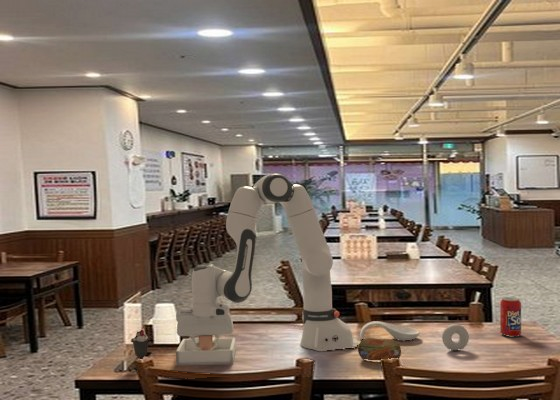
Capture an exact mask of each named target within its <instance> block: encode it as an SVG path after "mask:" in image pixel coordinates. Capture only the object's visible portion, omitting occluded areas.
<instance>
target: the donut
mask: <svg viewBox="0 0 560 400" xmlns="http://www.w3.org/2000/svg"><path fill="white" fill-rule="evenodd" d="M454 334H457V335H459V337H458V340H456V341H453V340H452V336H453V335H454ZM441 335H442V336H441V340H442V343H443V345H444V347H446V348H447V349H448V350H450V349H451V350H450V351H452V350H458V349H462V350H463V349H464V348H465V347H466V346H467V345H468V343H469V340H470V336H469V335H470V334H469V332H468V331H467V329H466V328H465V326H464V325H461V324H457V323H453V324H450V325H448V326H446V328H444V330H443V332H442V334H441Z"/></svg>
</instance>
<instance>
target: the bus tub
mask: <svg viewBox="0 0 560 400" xmlns="http://www.w3.org/2000/svg"><path fill="white" fill-rule="evenodd" d="M195 339H196V341H197V342H199V337H198V338H196V337H195ZM236 343H237V340H236V337H219V339H218V341H217V347H216V350H199V348H195V343H194V342H193V340H192V339H191V338H182V340H181V342H180V344H179V346H178V347H177V349H176V350H175V361H176V362H175V363H176V365H175V366H176V367H177V366H179V367H181V366H211V365H212V366H215V365H217V366H219V365H222V366H223V365H234V360H235V356H236V353H237V352H236V351H237V345H236Z"/></svg>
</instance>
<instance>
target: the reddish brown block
mask: <svg viewBox="0 0 560 400" xmlns="http://www.w3.org/2000/svg"><path fill="white" fill-rule="evenodd" d="M212 337H213V335H200V336H198V338H199V350H213V347H212V342H213V338H212Z"/></svg>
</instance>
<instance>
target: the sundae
mask: <svg viewBox="0 0 560 400" xmlns="http://www.w3.org/2000/svg"><path fill="white" fill-rule="evenodd" d="M144 328H145V326H142V327H141V329H140V331H136V335H135V336H134V337H133V338H131V339H130V343H132V344H133V349H134V354H135V356H136V357H137V358H138V359H139V360H140V359H143V360H144V358H145V357H146V355H147V354H148V347H149V341H151V338H150V337H148V335H147V334H146V332H145V330H144Z"/></svg>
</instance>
